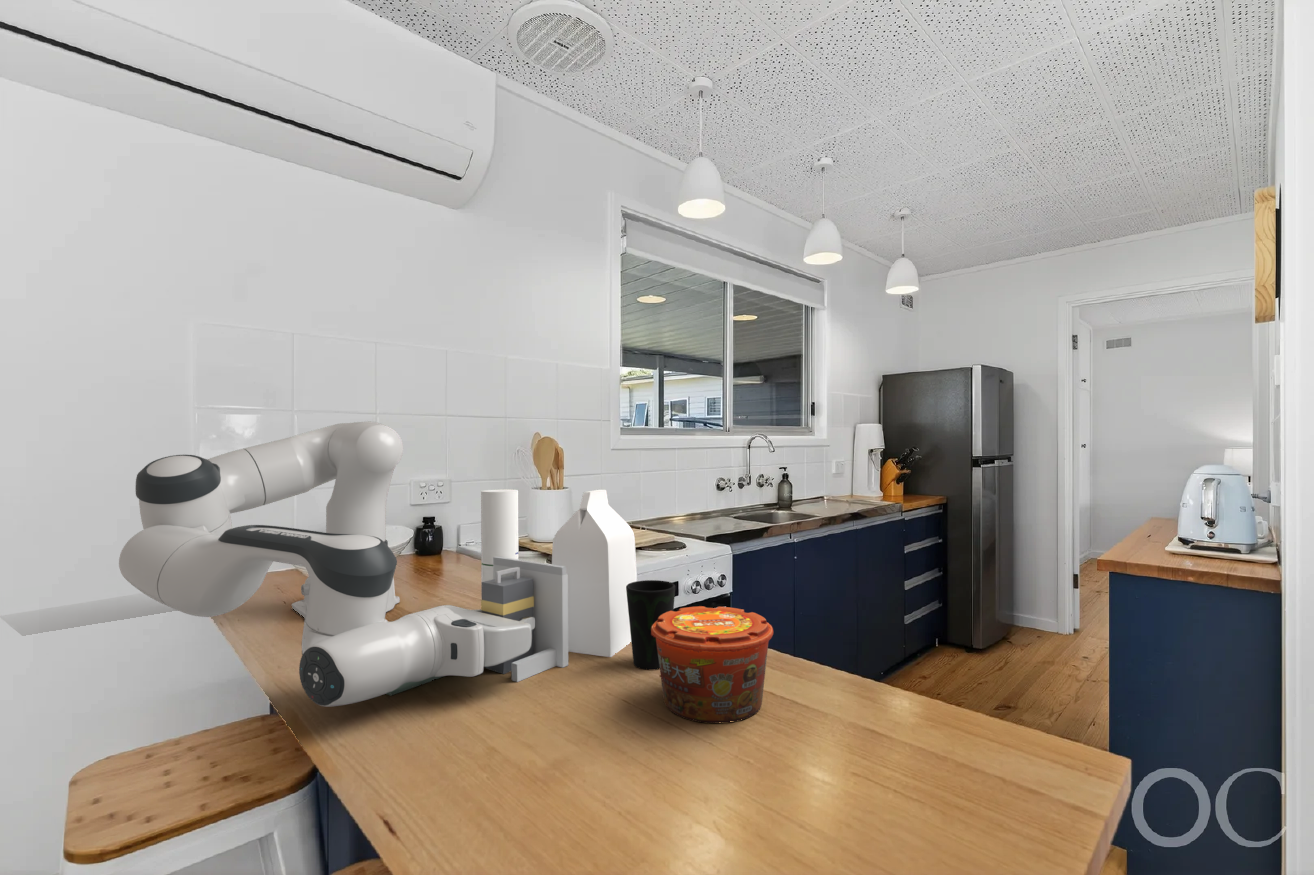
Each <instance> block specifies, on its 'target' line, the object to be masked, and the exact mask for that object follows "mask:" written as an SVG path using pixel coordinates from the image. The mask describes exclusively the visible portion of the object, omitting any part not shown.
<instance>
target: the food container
mask: <svg viewBox="0 0 1314 875" xmlns="http://www.w3.org/2000/svg"><path fill="white" fill-rule="evenodd" d="M651 635H652V636H653V637H656V643H657V651H658V658H659V666H660V669H659V671H660V672H659V673H660V681H661V687H662V688H661V690H662V698H663V703H664V705H665V706H666V708H667V709H668V710H669V711H670V712H672V713H673V714H675V715H676V716H679V717H681V718H683V717H684V718H683V719H686V720H688V719H689V721H692V720H693V722H697V721H699V722H698V723H704V722H707V724H708V723H709V724H723V723H722V722H728V723H731V722H730V721H736V722H738V721H737V720H740V721H742V720H741V719H743V720H745V719H744V718H746V719H747V717H748V718H750V717H752V716H754V715H755V714H757V713H758V712H759V711H760V710H761V708H762V705H763V697H764V686H765V677H766V668H767V667H766V666H767V658H768V652H769V651H768V649H769V642H770V640H771V639H772V638H773V635H774V627H773V625H772V624H770V623H769V622H767V619H766V618H765V617H764V616H762V615H760V614H758V613H756V612H753V611H751V612H745V609H741V608H736V607H727V606H717V607H714V608H713V607H706V606H702V605H699V606H689V607H680V608H679V609H678V610H677V611H674V610H673V611H669V612H666V613H664V614H662V615H660V616H659V618H658V620H657V621H656V622H655V623H654V624H653V625H652V627H651ZM758 710H759V711H758ZM756 712H757V713H756ZM753 714H754V715H753ZM751 715H752V716H751ZM719 722H721V723H719Z"/></svg>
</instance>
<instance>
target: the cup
mask: <svg viewBox="0 0 1314 875" xmlns="http://www.w3.org/2000/svg"><path fill="white" fill-rule="evenodd" d="M626 592H627V602H628V613H629V623H630V633H631V651H632V661H633V663H632V664H633V665H634V666H635V667H636V668H638V669H641V670H646V669H647V670H648V671H649V669H655V670H658V669H657V668H660V666H659V658H658V651H657V643H656V637H653V636H652V635H651V627H652V625H653V624H654V623H655V622H656V621H657V620H658V618H659V616H660V615H662V614H664V613H666V612H669V611H674V609H675V608H674V607H675V595H676V585H675V583H673V582H670V581H667V580H658V579H654V580H653V579H649V580H648V579H646V580H637V581H636V582H632V583H629V584H628V585H627V586H626Z"/></svg>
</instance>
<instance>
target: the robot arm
mask: <svg viewBox="0 0 1314 875" xmlns="http://www.w3.org/2000/svg"><path fill="white" fill-rule="evenodd" d="M403 454H404V443H403V440H402V438H401V436H400V434H399V433H398V432H397V431H396V430H395V429H393V428H392V427H390V426H389V425H385V424H383V423H380V422H376V421H368V420H367V421H357V422H355V421H354V422H345V423H344V422H342V423H336V424H332V425H328V426H325V427H320V428H317V429H313V430H310V431H306V432H303V433H299V434H297V435H293V436H289V437H285V438H282V439H278V440H273V441H270V442H264V443H261V444H257V445H252V446H248V447H244V448H240V449H237V450H232V451H228V452H224V453H222V454H219V455H216V456H213V457H210V458H204V457H202V456H198V455H196V454H195V455H194V454H176V455H174V454H173V455H168V456H165V457H164V456H163V457H161V458H158V459H155V460H152V461H151V462H149V463H147V464H146V465H145V466H144V467H143V468H142V469H140V471H139V472H138V473H137V474H136V478H135V497H136V498H137V499H138V505H139V512H140V513H139V514H140V520H141V525H142V529H143V530H141V531H139V532H137V533H136V534H134V535H133V536H132V537H131V538H130V539H129V540H127V542H125V544H124V545H123V548H122V549H121V552H120V555H119V559H118V567H119V570H120V573H121V575H122V577H123V578H124V579H125V580H126V581H127V583H129V584H131V585H132V586H133V587H134V588H135V589H136V590H139V591H140V592H141V593H142V594H144V595H146V596H147V597H149V598H151V599H153V600H154V601H155V602H158V603H160V604H163V605H164V606H167V607H170V608H171V609H173V610H176V611H179V612H181V613H184V614H185V615H190V616H194V617H199V618H200V617H202V618H211V617H218V616H222V615H224V614H227V613H230V612H232V611H233V610H236V609H238V608H239V607H240V606H242V605H243V604H245V603H246V602H247V601H249V599H250V598H252V596H254V594H256V592H257V591H258V590H259V588H260V587H261V586H262V584H263V583H264V580H265V578H266V575H267V573H268V571H269V570H270V568H271V565H272V564H273V563H274V562H275V563H283V564H287V565H293V566H301V567H304V568H305V569H306V571H307V573H308V577H307V578H306V579H305V581H304V583H303V584H301V586H300V591H301V593H300V594H301V595H302V596H303V597H304V598H303V599H301V600H297V601H295V602H292V603H291V606H292V608H293V609H294V610H295V611H297V612H298V613H299V614H300V615H299V614H298V613H297V612H296V613H297V614H298V615H299V616H301V615H302V616H303V617H304V618H303V617H302V616H301V617H302V618H303V619H304V620H303V623H304V624H303V631H302V637H301V638H302V639H301V658H300V660H299V665H298V667H299V668H298V670H299V671H298V673H299V680H300V683H301V686H302V689H303V691H304V693H305V694H306V696H307V697H308V698H309V700H311V701H312V703H314V704H316V705H318V706H320V707H327V708H329V707H339V706H345V705H352V704H356V703H360V702H363V701H367V700H370V699H375V698H377V697H380V696H382V695H385V694H386V693H389V692H391V691H394V690H395V689H397V688H398V687H400V686H401V685H403V684H405V683H408V682H418V681H422V680H425V679H428V678H431V677H434V676H435V677H441V676H444V677H446V676H455V677H468V678H469V677H470V678H471V677H476V676H479V675H482V674H483V673H484V668H483V667H489V666H494V665H498V664H501V663H503V662H506V661H508V660H511V659H513V658H515V657H518V656H520V655H522V654H524V653H526V652H527V651H529V649H530V647H531V643H532V631H531V630H533V629H534V628H535V618H533V617H528V616H525V617H522V618H520V621H516V620H511V619H507V618H503V617H499V616H494V615H490V614H486V613H482V610H481V608H480V609H469V608H465V607H464V608H463V607H460V606H459V607H458V606H455V605H451V604H446V605H444V604H443V605H439V606H434V607H431V608H428V609H424V610H420V611H417V612H411V613H409V614H405V615H403V616H402V617H400V618H398V619H395V620H394V621H388V620H387V619H386V614H387V612H389V611H392V610H393V609H394V608H395V605H396V604H398V603H400V602H401V600H400V596H398V595H396V593H395V592H396V591H395V580H394V579H395V578H394V575H395V572H396V569H397V564H398V560H397V557H396V556H395V554H394V552H393V551H392V550H391V548H390V547H389V543H388V542H389V540H387V539H386V538H387V537H386V532H387V531H386V529H387V528H386V526H387V525H386V522H387V521H386V519H387V517H386V516H387V515H386V514H387V511H386V510H387V508H386V507H387V501H388V499H387V498H388V494H389V490H390V486H391V483H392V479H393V475H394V474H393V473H394V470H395V469H396V467H397V465H398V464H399V463H400V461H401V460H402V457H403ZM334 480H335V481H334ZM331 481H334V486H333V490H332V494H331V496H330V498H329V500H328V501H327V504H326V507H325V509H326V510H325V512H326V513H325V515H326V516H325V517H326V519H325V523H326V524H325V532H323V531H316V530H308V529H300V528H293V527H286V526H278V525H267V524H249V525H248V524H247V525H242V526H241V525H240V526H236V527H233V526H232V517H231V514H235V513H236V514H237V513H240V512H245V511H248V510H252V509H256V508H259V507H262V506H266V505H270V504H272V503H277V502H278V501H282V500H285V499H289V498H292V497H295V496H297V495H301V494H305V493H307V492H309V491H311V490H313V489H314V488H316V487H317V488H318V487H319V486H322V485H323V484H326V483H329V482H331ZM292 608H291V609H292ZM293 609H292V610H293ZM294 610H293V611H294ZM295 611H294V612H295ZM441 678H442V677H441ZM386 695H387V694H386Z"/></svg>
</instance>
